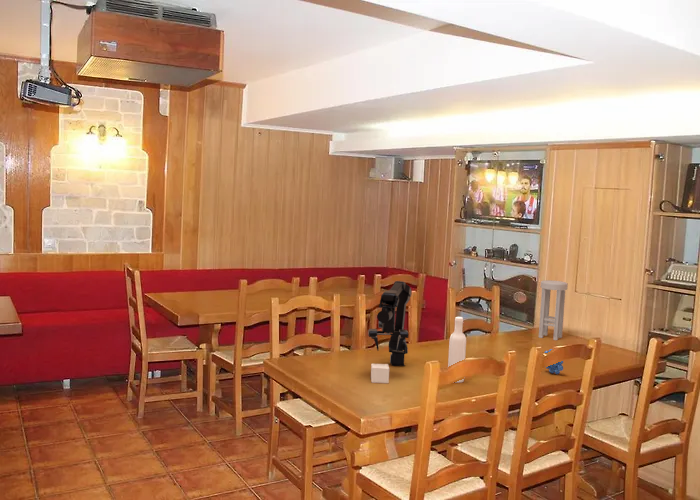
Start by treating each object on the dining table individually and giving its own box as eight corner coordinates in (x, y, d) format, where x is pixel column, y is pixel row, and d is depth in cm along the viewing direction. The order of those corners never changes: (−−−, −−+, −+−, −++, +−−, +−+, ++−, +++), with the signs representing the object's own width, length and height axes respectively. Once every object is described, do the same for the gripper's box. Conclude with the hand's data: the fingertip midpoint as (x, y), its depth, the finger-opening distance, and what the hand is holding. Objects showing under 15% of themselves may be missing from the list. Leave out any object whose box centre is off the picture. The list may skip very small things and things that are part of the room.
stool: (559, 341, 407) (563, 284, 404) (534, 337, 415) (538, 281, 412) (566, 337, 420) (570, 282, 417) (541, 333, 428) (545, 279, 425)
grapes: (537, 371, 334) (538, 348, 333) (544, 369, 339) (546, 346, 338) (557, 377, 326) (559, 353, 325) (565, 375, 330) (566, 351, 329)
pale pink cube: (387, 378, 312) (387, 364, 311) (388, 383, 304) (389, 368, 303) (370, 377, 311) (371, 363, 311) (371, 382, 304) (372, 368, 303)
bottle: (465, 379, 315) (469, 316, 313) (462, 383, 308) (466, 319, 305) (448, 377, 318) (452, 315, 315) (445, 381, 311) (449, 317, 308)
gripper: (406, 315, 323) (405, 347, 325) (368, 314, 323) (367, 346, 324) (409, 320, 312) (407, 353, 314) (369, 319, 311) (368, 352, 313)
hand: (387, 351), depth 317 cm, fingers open, 9 cm apart
